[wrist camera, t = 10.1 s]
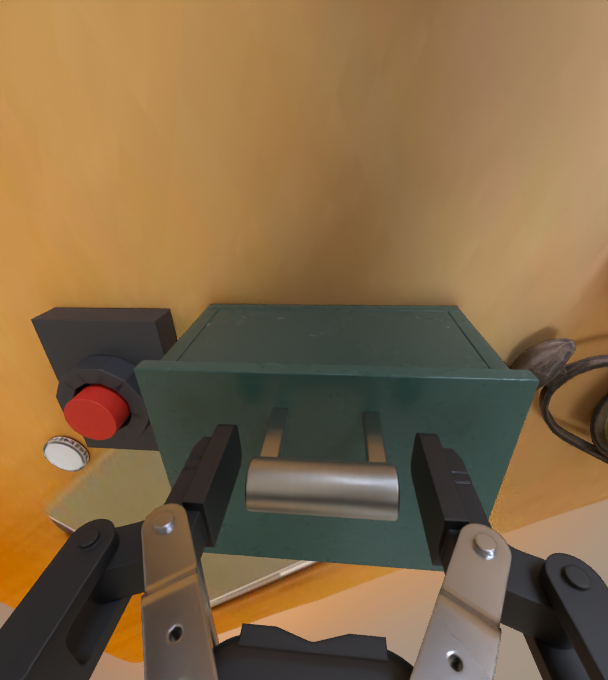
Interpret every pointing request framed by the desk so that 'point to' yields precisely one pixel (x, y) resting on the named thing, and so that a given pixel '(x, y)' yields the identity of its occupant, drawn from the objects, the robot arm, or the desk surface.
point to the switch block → (107, 359)
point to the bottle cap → (66, 454)
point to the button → (97, 412)
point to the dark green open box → (336, 336)
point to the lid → (335, 448)
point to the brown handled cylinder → (553, 374)
